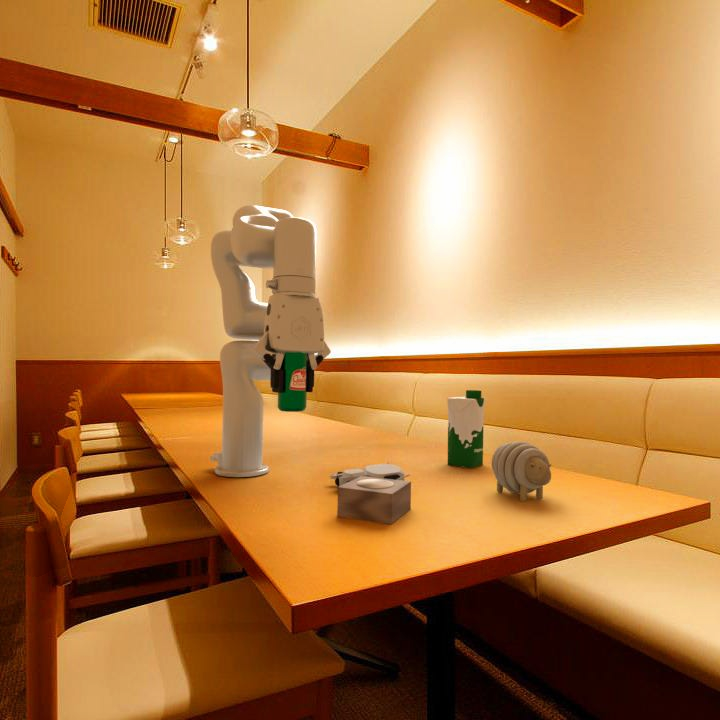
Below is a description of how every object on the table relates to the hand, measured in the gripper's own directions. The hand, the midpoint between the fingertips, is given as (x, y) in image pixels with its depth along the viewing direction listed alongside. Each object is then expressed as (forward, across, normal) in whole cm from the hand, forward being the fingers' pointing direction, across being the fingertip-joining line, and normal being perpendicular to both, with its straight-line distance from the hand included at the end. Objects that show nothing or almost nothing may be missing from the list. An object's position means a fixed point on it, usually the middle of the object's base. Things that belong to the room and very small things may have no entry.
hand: (292, 391), depth 89 cm
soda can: (+4, 0, 0) cm, 4 cm away
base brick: (+21, +13, -8) cm, 26 cm away
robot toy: (+22, +22, +7) cm, 32 cm away
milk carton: (+22, +60, +16) cm, 65 cm away
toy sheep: (+22, +46, -13) cm, 52 cm away
